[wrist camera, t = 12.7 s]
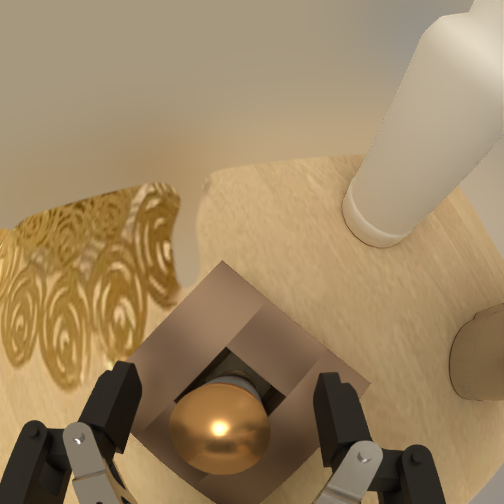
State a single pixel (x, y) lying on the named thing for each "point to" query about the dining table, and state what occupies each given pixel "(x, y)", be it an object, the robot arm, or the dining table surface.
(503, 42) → the bottle
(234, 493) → the brown cube with hole
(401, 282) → the dining table surface
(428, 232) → the dining table surface
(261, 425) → the pin
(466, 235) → the dining table surface
